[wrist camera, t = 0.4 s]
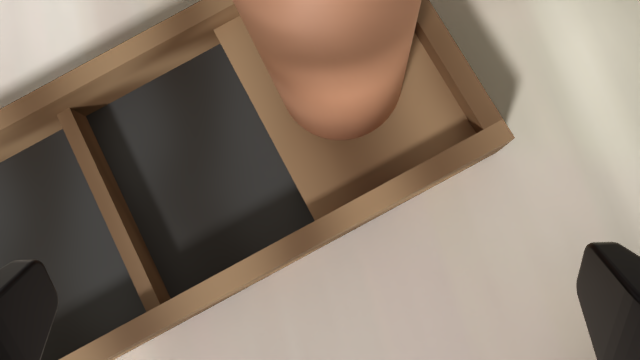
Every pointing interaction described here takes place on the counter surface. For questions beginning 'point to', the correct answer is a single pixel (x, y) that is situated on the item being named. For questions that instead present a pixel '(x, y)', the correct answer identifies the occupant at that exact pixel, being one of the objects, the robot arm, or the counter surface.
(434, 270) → the counter surface
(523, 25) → the counter surface
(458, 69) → the box
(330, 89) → the smooth tapered peach-colored object
